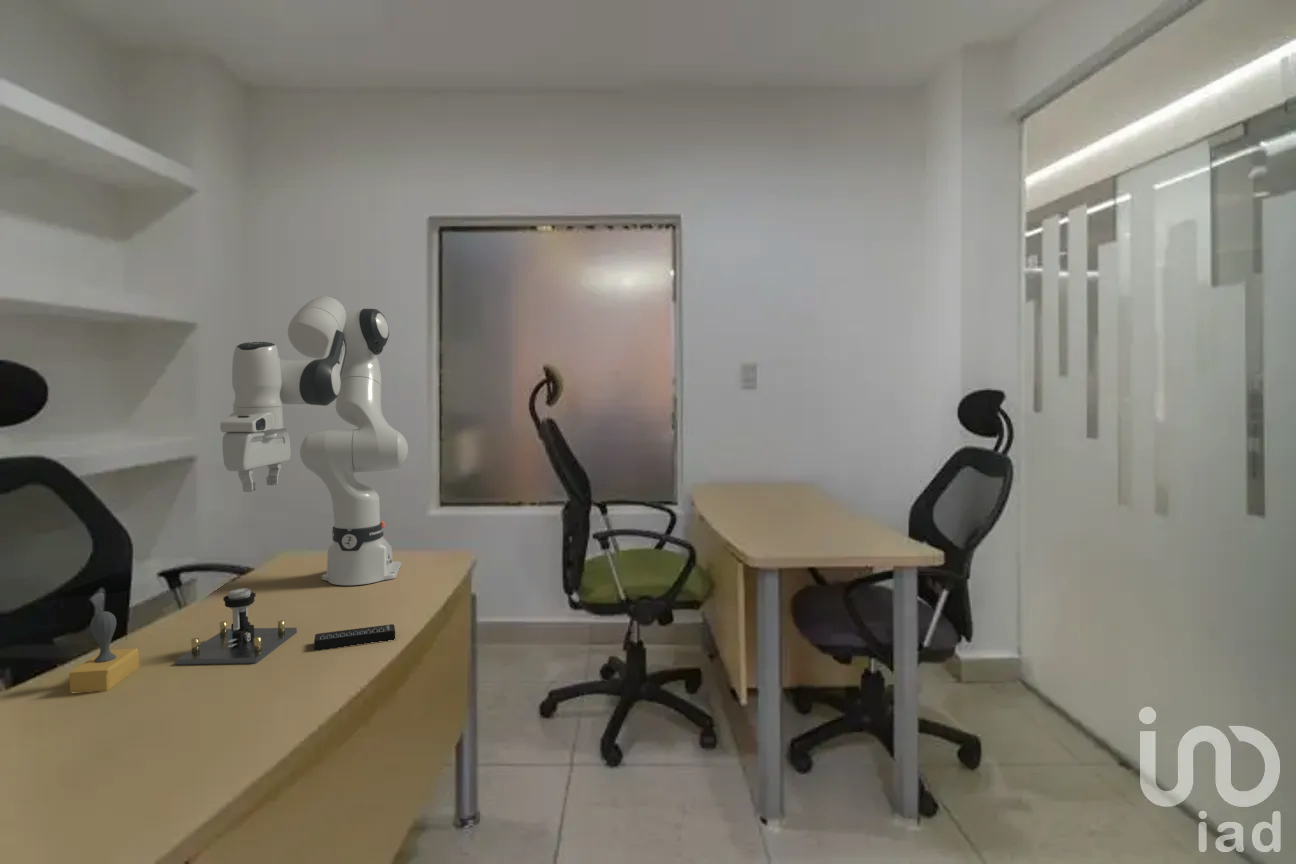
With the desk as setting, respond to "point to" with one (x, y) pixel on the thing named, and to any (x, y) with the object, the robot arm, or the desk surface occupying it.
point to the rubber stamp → (104, 660)
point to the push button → (240, 615)
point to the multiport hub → (354, 637)
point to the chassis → (244, 654)
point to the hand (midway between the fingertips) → (261, 488)
